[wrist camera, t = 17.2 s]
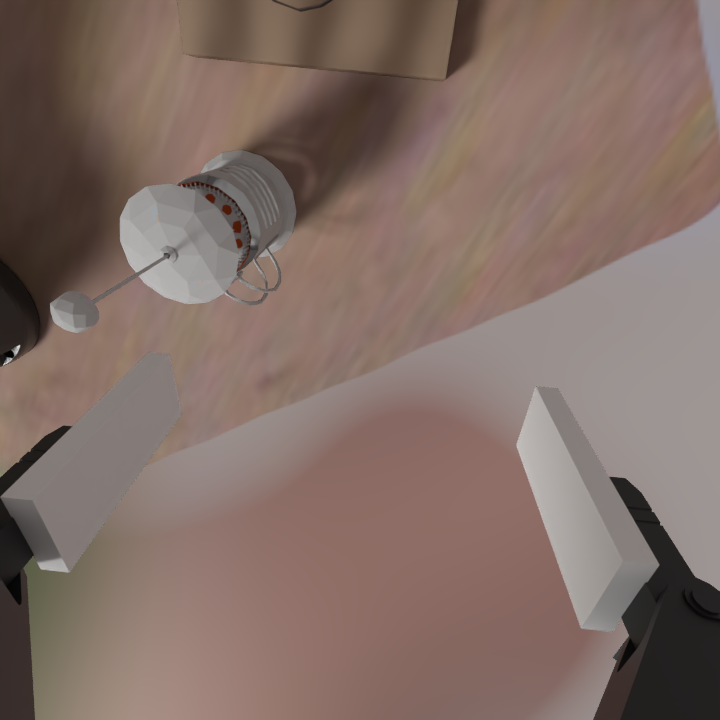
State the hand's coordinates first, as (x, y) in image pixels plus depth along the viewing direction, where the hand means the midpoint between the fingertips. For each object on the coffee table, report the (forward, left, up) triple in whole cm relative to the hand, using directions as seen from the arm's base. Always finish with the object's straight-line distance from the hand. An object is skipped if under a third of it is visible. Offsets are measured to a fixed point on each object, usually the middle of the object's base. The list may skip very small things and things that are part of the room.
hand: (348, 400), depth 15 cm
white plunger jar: (-12, 0, -28) cm, 31 cm away
